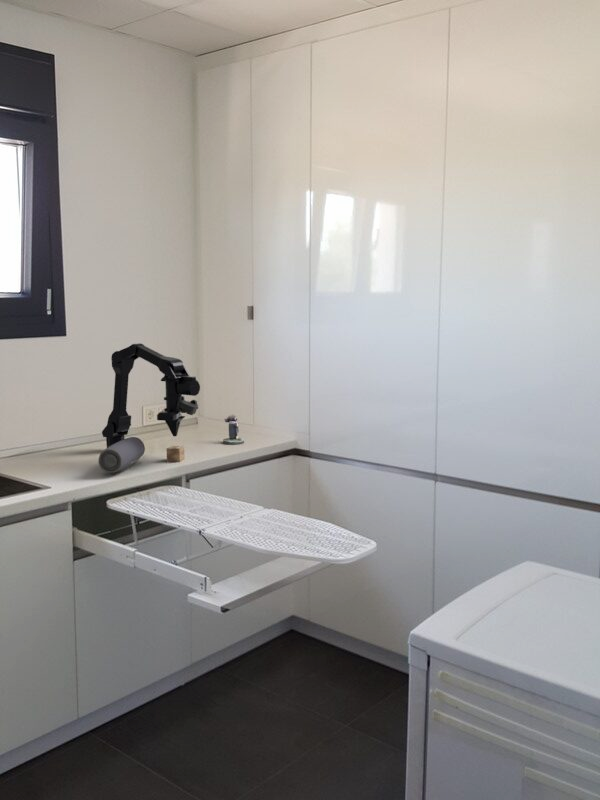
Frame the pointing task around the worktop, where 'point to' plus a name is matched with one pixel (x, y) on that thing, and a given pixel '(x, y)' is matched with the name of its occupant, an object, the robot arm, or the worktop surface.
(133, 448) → the bluetooth speaker
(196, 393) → the robot arm
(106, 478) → the worktop surface
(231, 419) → the figurine
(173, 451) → the letter block
